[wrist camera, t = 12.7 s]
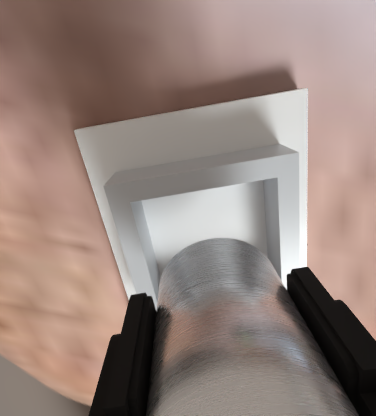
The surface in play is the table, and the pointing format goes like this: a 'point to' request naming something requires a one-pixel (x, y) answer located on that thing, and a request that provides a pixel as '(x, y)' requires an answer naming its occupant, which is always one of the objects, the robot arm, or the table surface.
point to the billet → (235, 341)
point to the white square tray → (202, 182)
